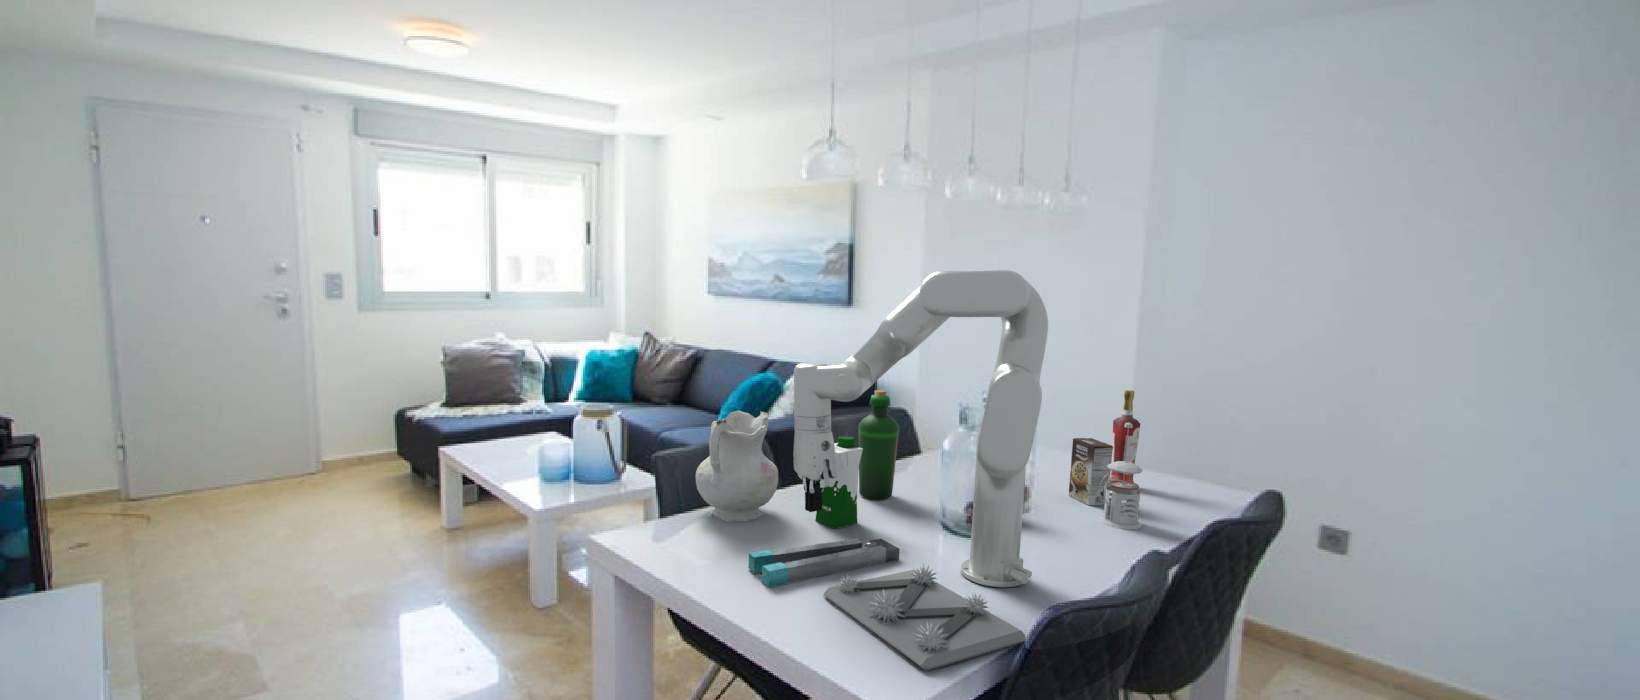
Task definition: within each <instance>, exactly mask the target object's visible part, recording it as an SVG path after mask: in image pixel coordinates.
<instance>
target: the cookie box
mask: <svg viewBox="0 0 1640 700" xmlns="http://www.w3.org/2000/svg"><path fill="white" fill-rule="evenodd" d="M1071 448H1072V449H1071V457H1070V458H1071V460H1070V461H1071V462H1070V471H1069V482H1068V483H1069V484H1068V485H1069V487H1068V496H1069V497H1070V498H1073V499H1075V500H1077V501H1078V502H1081V503H1083V504H1085V505H1087V506H1105V502H1103V501H1105V498H1104V487H1105V484H1106V482H1107V481H1108V479H1109V475H1107V474H1110V475H1111V470H1110V469H1108V467H1107V466H1108V465H1109V464H1111V463H1112V451H1113V446H1112V445H1111V444H1109V443H1106V442H1104V441H1100V440H1098V439H1095V438H1092V437H1090V438H1085V437H1077V438H1076V437H1075V438H1072V446H1071ZM1105 475H1107V476H1106V477H1105V478H1104V479H1103V477H1104V476H1105ZM1102 479H1103V481H1102V483H1101V480H1102ZM1109 481H1110V479H1109ZM1109 481H1108V482H1109ZM1108 482H1107V485H1106V487H1105V496H1106V488H1107V487H1108V486H1110V485H1109V484H1108ZM1100 483H1101V486H1100V495H1101V499H1102V500H1103V501H1102V500H1101V499H1100V496H1099V485H1100Z"/></svg>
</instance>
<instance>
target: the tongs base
mask: <svg viewBox="0 0 1640 700" xmlns="http://www.w3.org/2000/svg"><path fill="white" fill-rule="evenodd" d="M870 541H874V542H876V543H877V547H872V548H868V547H865V546H864V547H862V548H859V549H854V550H849V551H843V552H838V553H833V554H828V555H823V556H818V557H813V558H808V559H802V560H797V561H792V562H787V563H781V562H780V563H774V564H769V565H764V566H762V572H761V583H762V584H763V585H765V586H766V587H767V588H769V589H770V588H775V587H781V586H785V585H788V584H790V583H795V582H801V581H806V580H811V579H815V578H819V577H825V576H828V575H829V576H830V575H833V574H838V573H842V572H848V571H853V570H858V569H861V568H865V567H870V566H871V567H872V566H875V565H880V564H886V563H890V562H895V561H899V560H900V548H899V547H898V546H895V545H894V544H892V543H890V542H889V541H887V540H885V539H883V538H877V539H870Z"/></svg>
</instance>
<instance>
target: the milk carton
mask: <svg viewBox="0 0 1640 700" xmlns="http://www.w3.org/2000/svg"><path fill="white" fill-rule="evenodd" d="M855 442H856V437H854V436H853V435H839V436H838V437H837V442H834V446H835V457H836V477H835V478H829V482H830V486H829V487H824V491H823V492H822V510H819V511H815V522H817V523H819V524H822V525H824V526H827V527H830V528H832V529H834V530H836V529H841V528H844V527H847V526H848V527H849V526H851V525H855V524H858V491H859V490H858V489H859V463H860V459H861V454H862V450H863V449H862V448H859V446H856V445H855V444H856V443H855Z"/></svg>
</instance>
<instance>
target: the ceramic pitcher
mask: <svg viewBox="0 0 1640 700" xmlns="http://www.w3.org/2000/svg"><path fill="white" fill-rule="evenodd" d="M759 412H760V414H759V415H758V416H757V417H754V416H753V415H752V414H750V413H749V412H744V411H742V410H736V411H735V410H734V411H732V412H729V413H728V414H727V416H726V417H725V418H722V417H721V418H719V419H717V420H713V421H712V422H711V426H710V435H709V441H708V442H709V444H708V450H709V456H708V457H707V458H705V459H704V460H703V461H702V462H700V464H699V465H698V467H697V468H696V471H695V484H696V490H697V491H698V493H699V495H700V496H701V498H702V499H703V501H705V502H706V503H707V504H708V505H709V506H711V507H713V508H714V509H713V510H712V511H711V512H712V516H713V518H715V519H716V520H720V521H727V522H730V523H738V522H748V521H749V522H750V521H754V520H755V519H757V518H759V517H760V516H761V514H762V513H763V510H761V508H760V507H763V506H765V505H766V504H767V503H769V502H770V501H771V499H772V498H773V496H774V495H775V493H776V491H777V488H778V484H779V469H778V468H777V465H775V464H774V462H773V461H771V460H770V459H769V458H768V457H767V456H765V454H764V451H763V449H762V446H763V442H764V439H765V436H766V434H767V431H768V426H769V416H768V415H769V413H768V412H765V411H761V410H760V411H759Z"/></svg>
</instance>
